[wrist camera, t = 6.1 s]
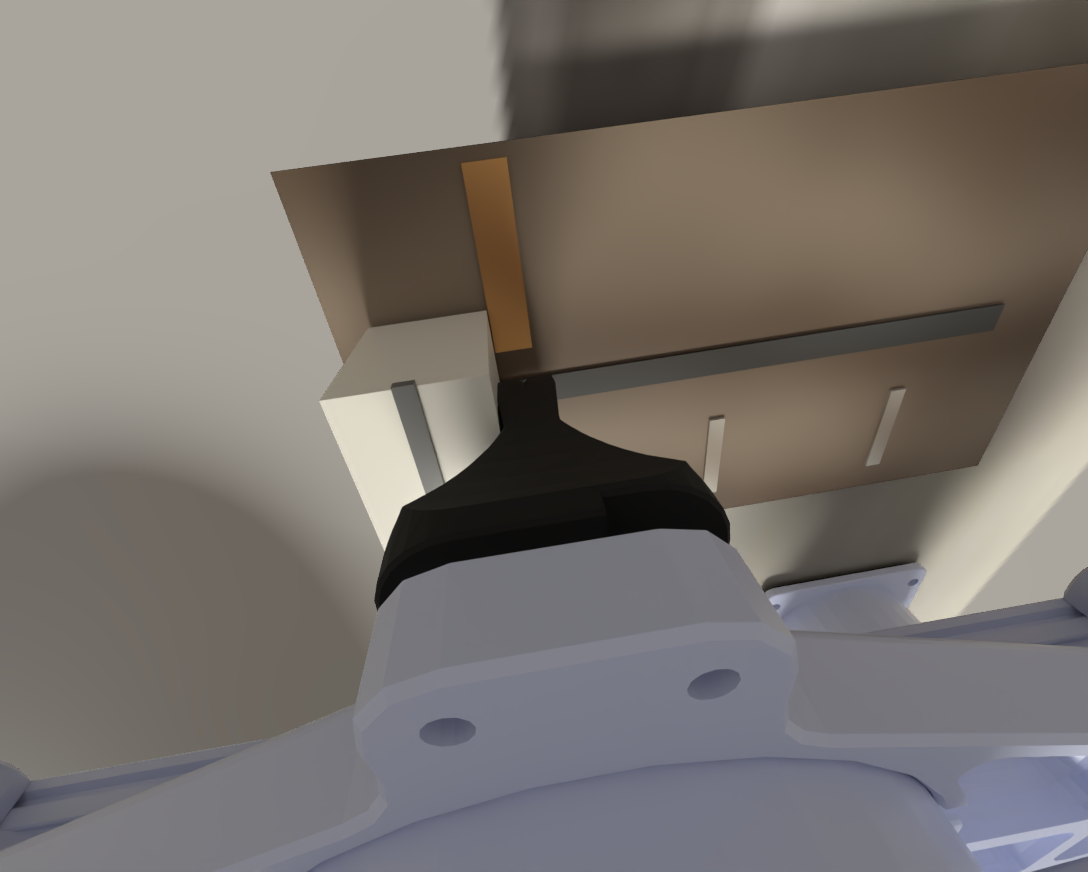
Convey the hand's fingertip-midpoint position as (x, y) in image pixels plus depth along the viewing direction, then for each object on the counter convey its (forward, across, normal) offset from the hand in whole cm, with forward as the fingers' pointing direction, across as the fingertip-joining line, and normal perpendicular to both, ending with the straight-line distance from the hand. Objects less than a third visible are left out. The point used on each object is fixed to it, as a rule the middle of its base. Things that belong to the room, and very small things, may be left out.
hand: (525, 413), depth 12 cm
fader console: (+3, -6, 0) cm, 7 cm away
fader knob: (+1, +2, 0) cm, 2 cm away
